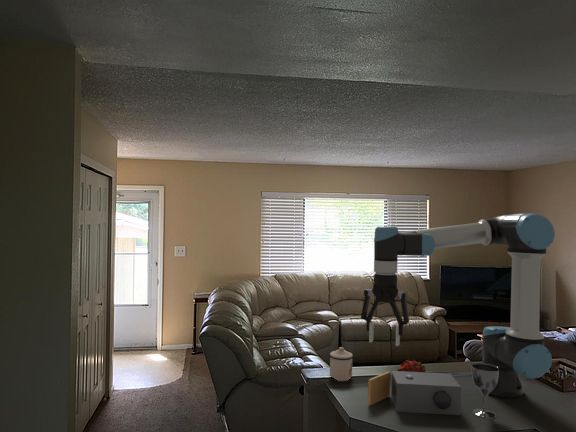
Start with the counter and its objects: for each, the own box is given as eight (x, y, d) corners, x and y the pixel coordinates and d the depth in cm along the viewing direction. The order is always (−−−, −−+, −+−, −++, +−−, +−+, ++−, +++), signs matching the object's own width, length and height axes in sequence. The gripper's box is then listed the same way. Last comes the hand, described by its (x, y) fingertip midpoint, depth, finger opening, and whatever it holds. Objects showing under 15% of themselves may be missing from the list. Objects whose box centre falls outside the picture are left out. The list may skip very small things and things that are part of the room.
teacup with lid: (354, 382, 165) (354, 351, 166) (330, 381, 165) (331, 350, 165) (349, 371, 177) (350, 342, 178) (327, 370, 177) (327, 342, 177)
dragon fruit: (428, 385, 168) (398, 390, 167) (419, 366, 175) (391, 371, 174) (432, 371, 163) (401, 377, 162) (422, 353, 170) (393, 358, 169)
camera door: (386, 394, 153) (386, 370, 153) (390, 395, 152) (390, 371, 152) (366, 403, 145) (367, 379, 145) (370, 405, 144) (370, 380, 144)
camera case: (450, 399, 150) (450, 372, 150) (462, 417, 137) (462, 386, 137) (390, 396, 152) (391, 369, 152) (397, 413, 138) (397, 383, 139)
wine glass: (496, 411, 142) (497, 364, 142) (499, 421, 134) (500, 372, 135) (470, 407, 145) (470, 361, 145) (472, 417, 137) (472, 369, 137)
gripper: (419, 274, 142) (418, 344, 141) (357, 270, 151) (356, 336, 150) (416, 276, 135) (415, 350, 135) (351, 272, 144) (350, 341, 143)
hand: (384, 343), depth 142 cm, fingers open, 8 cm apart
